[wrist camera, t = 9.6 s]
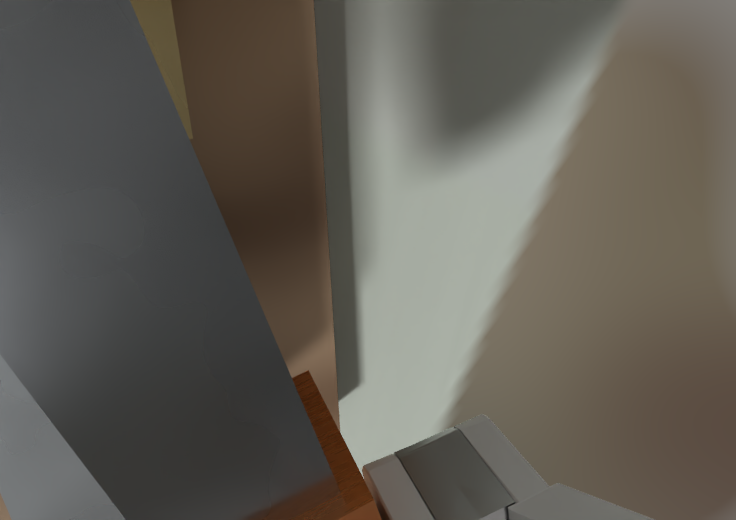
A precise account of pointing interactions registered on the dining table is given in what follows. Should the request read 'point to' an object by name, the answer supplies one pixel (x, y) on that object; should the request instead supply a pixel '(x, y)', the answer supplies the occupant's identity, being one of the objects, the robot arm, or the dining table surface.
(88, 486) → the valve pipe
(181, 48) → the base board
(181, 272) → the valve lever
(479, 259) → the dining table surface
